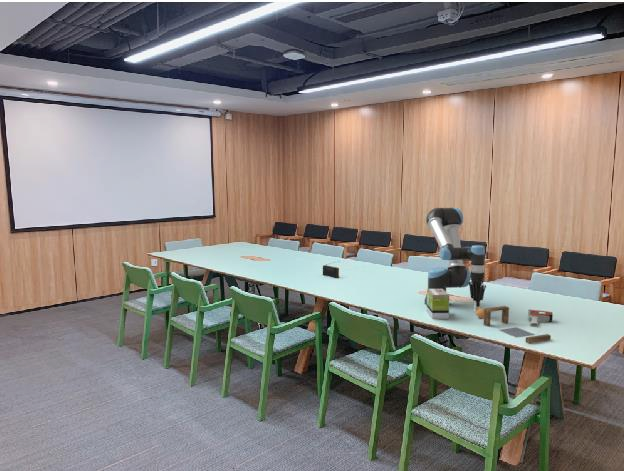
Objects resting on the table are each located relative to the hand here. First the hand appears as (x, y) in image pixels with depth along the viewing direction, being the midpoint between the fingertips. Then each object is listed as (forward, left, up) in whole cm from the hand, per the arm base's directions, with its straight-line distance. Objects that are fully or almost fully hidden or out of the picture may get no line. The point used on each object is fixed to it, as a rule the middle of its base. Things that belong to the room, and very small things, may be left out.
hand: (476, 311), depth 263 cm
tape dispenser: (+20, +26, -4) cm, 33 cm away
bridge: (+16, 0, -3) cm, 16 cm away
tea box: (-9, -21, -3) cm, 23 cm away
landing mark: (+31, 0, -3) cm, 31 cm away
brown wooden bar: (+45, 0, -3) cm, 45 cm away
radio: (-132, -39, -3) cm, 138 cm away
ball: (+4, 0, 0) cm, 4 cm away
